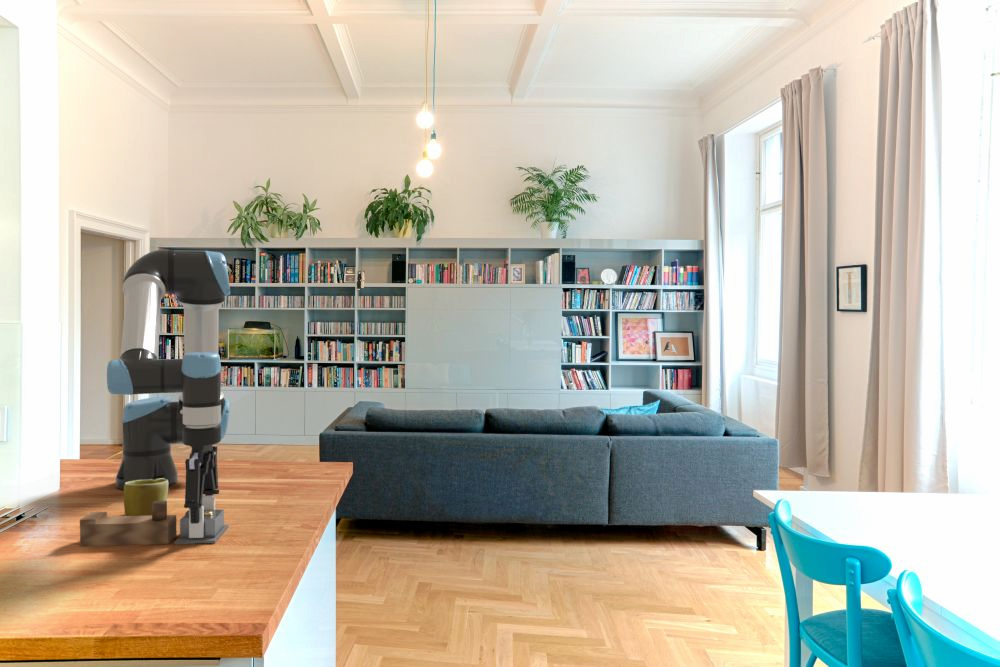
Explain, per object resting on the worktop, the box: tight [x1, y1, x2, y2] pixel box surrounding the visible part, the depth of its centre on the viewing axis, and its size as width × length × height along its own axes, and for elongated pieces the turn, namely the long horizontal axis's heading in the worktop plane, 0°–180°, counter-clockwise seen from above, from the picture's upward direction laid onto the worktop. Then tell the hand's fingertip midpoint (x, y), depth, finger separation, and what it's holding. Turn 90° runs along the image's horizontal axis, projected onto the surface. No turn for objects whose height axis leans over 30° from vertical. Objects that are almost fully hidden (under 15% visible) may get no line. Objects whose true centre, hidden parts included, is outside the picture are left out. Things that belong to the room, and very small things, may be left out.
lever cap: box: [179, 509, 225, 539], centre depth 144 cm, size 7×6×5 cm
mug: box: [123, 478, 169, 516], centre depth 158 cm, size 12×10×10 cm
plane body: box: [79, 501, 177, 547], centre depth 140 cm, size 17×5×8 cm, turn 97°
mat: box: [174, 524, 229, 545], centre depth 144 cm, size 10×8×1 cm
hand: (202, 530), depth 144 cm, fingers open, 7 cm apart
